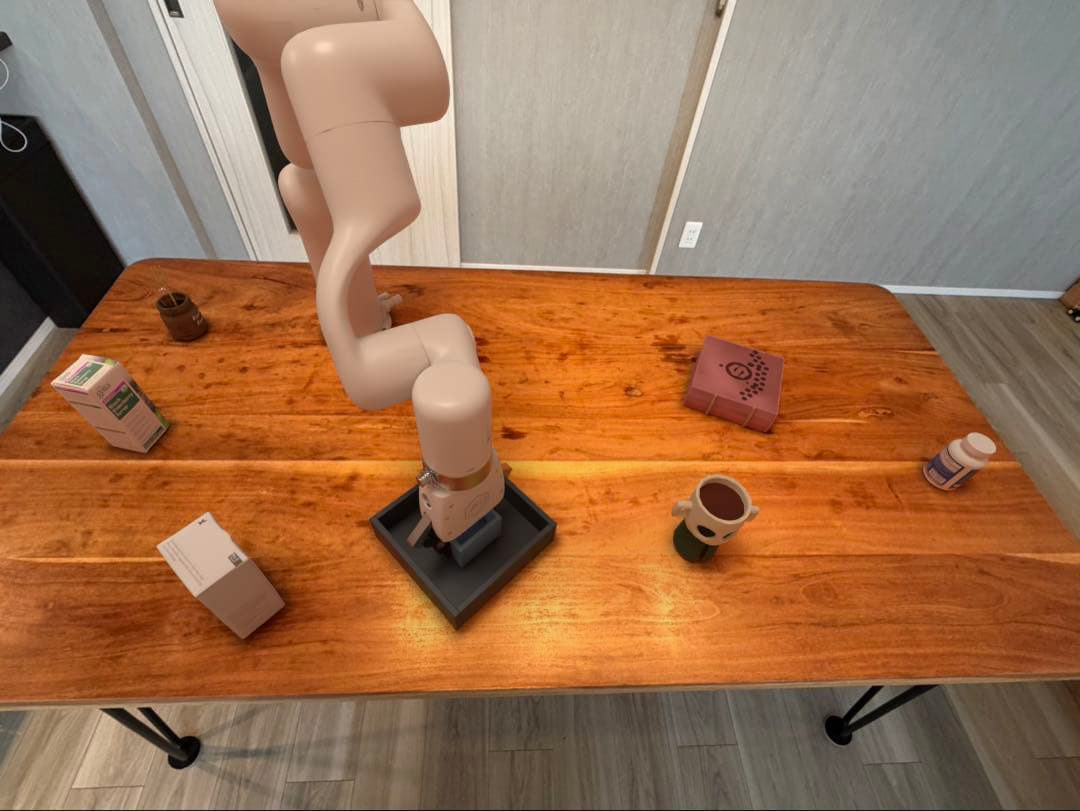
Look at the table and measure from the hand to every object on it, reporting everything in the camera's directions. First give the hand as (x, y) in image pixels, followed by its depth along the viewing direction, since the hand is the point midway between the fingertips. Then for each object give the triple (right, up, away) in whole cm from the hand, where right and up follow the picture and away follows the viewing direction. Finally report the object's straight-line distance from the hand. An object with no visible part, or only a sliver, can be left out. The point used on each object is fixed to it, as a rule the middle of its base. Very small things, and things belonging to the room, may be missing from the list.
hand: (465, 530), depth 70 cm
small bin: (0, 0, +1) cm, 1 cm away
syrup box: (-51, +12, +9) cm, 53 cm away
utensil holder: (-54, +31, +24) cm, 67 cm away
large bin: (0, -1, +2) cm, 2 cm away
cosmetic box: (-26, -8, -5) cm, 28 cm away
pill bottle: (+76, +5, +14) cm, 77 cm away
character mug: (+32, -3, +4) cm, 33 cm away
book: (+45, +19, +24) cm, 54 cm away
